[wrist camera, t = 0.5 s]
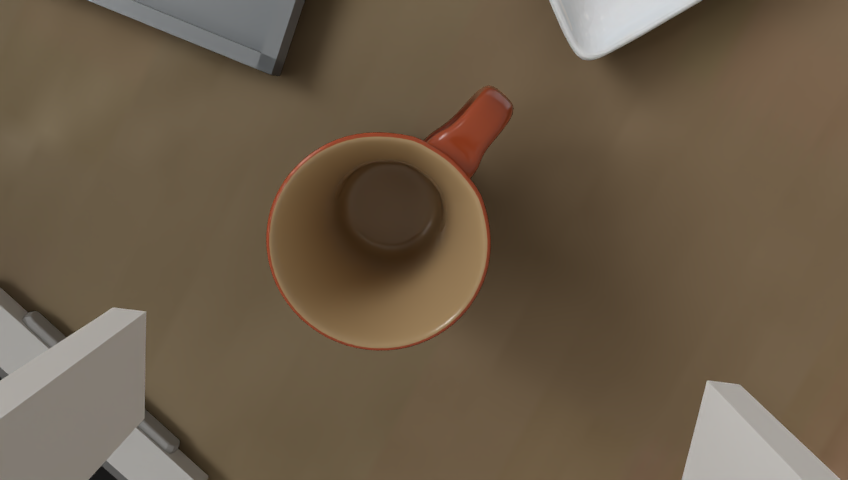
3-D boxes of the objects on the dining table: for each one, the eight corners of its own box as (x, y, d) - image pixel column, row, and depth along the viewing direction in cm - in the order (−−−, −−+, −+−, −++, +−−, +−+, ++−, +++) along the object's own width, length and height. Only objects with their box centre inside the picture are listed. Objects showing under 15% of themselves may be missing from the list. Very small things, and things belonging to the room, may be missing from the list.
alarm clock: (-219, 470, 34) (-61, 298, 30) (-140, 423, 39) (6, 268, 35) (16, 653, 37) (187, 518, 33) (64, 590, 41) (220, 464, 38)
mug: (401, 306, 35) (391, 391, 25) (282, 208, 33) (220, 257, 23) (545, 148, 32) (597, 172, 22) (423, 37, 31) (422, 10, 21)
